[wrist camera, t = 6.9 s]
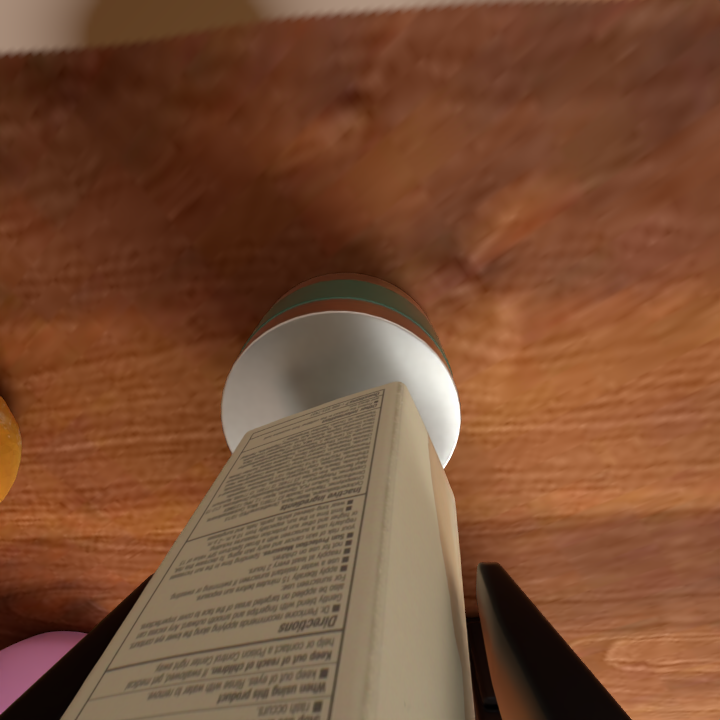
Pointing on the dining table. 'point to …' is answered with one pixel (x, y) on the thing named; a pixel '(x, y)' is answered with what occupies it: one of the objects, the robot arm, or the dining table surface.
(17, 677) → the teapot
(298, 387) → the tin can
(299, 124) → the dining table surface
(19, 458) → the fruit
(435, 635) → the box
